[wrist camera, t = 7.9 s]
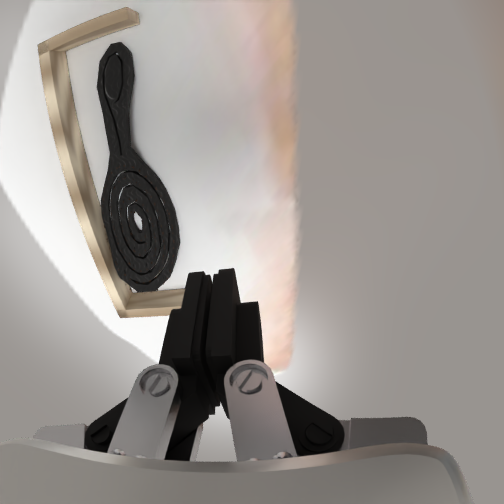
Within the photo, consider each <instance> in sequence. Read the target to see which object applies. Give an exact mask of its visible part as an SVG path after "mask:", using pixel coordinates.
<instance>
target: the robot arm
mask: <svg viewBox="0 0 504 504" xmlns="http://www.w3.org/2000/svg"><path fill="white" fill-rule="evenodd" d="M220 402H221V404H222V406H223V409H224V411H225V413H226V416H227V418H228V419H230V423H231V429H232V434H233V441H234V446H235V452H236V457H237V462H195V461H196V456H197V452H198V448H199V444H200V439H201V435H202V431H203V422H205V421H206V420H207V419H208V418H209V415H214V414H215V407H216V406H220ZM0 504H474V503H473V499H472V496H471V493H470V490H469V487H468V484H467V481H466V479H465V476H464V474H463V472H462V470H461V468H460V466H459V464H458V463H457V461H456V460H455V459H454V457H453V456H452V455H451V454H450V453H448V452H447V451H445V450H444V449H442V448H439V447H435V446H431V445H428V443H427V431H426V428H425V426H424V424H423V423H422V422H421V421H420V420H418V419H416V418H413V417H393V418H351V420H337V419H336V418H335V417H333V416H332V415H330V414H328V413H326V412H325V411H323V410H321V409H320V408H318V407H316V406H315V405H313V404H311V403H309V402H308V401H306V400H305V399H303V398H301V397H300V396H298V395H296V394H295V393H293V392H292V391H290V390H288V389H287V388H285V387H284V386H282V385H281V384H279V383H277V382H276V381H275V379H274V375H273V373H272V371H271V369H270V367H268V366H267V365H266V364H265V363H264V355H263V341H262V329H261V320H260V312H259V305H258V301H257V302H247V303H241V302H240V297H239V291H238V286H237V280H236V275H235V270H234V268H231V269H221V270H219V273H218V274H214V276H213V284H212V280H211V276H210V275H205V273H204V271H202V272H192V273H189V274H188V278H187V282H186V287H185V292H184V296H183V301H182V305H181V308H179V309H172V310H171V313H170V316H169V320H168V325H167V329H166V333H165V338H164V342H163V346H162V351H161V356H160V360H159V364H156V365H153V366H149V367H148V368H146V369H144V370H143V371H142V372H141V373H140V374H139V375H138V377H137V379H136V381H135V383H134V386H133V388H132V390H131V393H130V395H129V397H128V398H127V399H125V400H124V401H122V402H121V403H119V404H118V405H117V406H115V407H114V408H112V409H111V410H110V411H108V412H107V413H105V414H104V415H102V416H101V417H100V418H98V419H97V420H95V421H94V422H93V423H91V424H90V426H86V425H85V424H75V425H61V426H45V427H41V428H40V429H39V430H37V432H36V433H35V435H34V438H33V439H30V438H17V439H11V440H6V441H3V442H1V443H0Z"/></svg>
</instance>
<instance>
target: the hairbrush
mask: <svg viewBox="0 0 504 504" xmlns="http://www.w3.org/2000/svg"><path fill="white" fill-rule="evenodd" d="M116 53H118V54H119V55H116ZM130 53H131V52H130ZM130 53H129V49H128V48H127V47H126V46H125V45H123V44H122V43H121V42H119V43H113V44H111V45H110V46H109V48H108V49H107V51H106V52H105V54H104V55H103V57H102V59H101V60H100V64H99V72H98V81H97V90H98V94H99V99H100V103H101V108H102V112H103V117H104V123H105V129H106V135H107V140H108V146H109V151H110V157H109V165H108V172H107V176H106V180H105V184H104V188H103V193H102V197H101V213H102V219H103V223H104V228H105V229H106V233H107V234H106V235H107V237H108V238H107V239H106V240H108V241H109V245H110V247H109V249H111V254H112V255H111V256H112V259H113V264H114V267H115V269H116V271H117V274H118V276H119V278H120V279H122V280H123V281H124V282H126V283H127V284H128V285H129V286H131V287H132V288H133V289H135V290H136V291H137V293H138V292H142V294H143V292H144V294H145V292H147V291H151V293H152V291H154V292H155V291H156V290H157V291H158V288H159V287H160V286H161V285H162V284H164V283H165V281H167V280H168V279H169V278H170V276H171V273H172V272H173V268H174V265H175V262H176V258H177V253H178V249H179V245H180V238H179V227H178V222H177V217H176V212H175V208H174V206H173V204H172V201H171V199H170V197H169V194H168V192H167V190H166V188H165V187H164V185H163V183H162V182H160V181H161V180H160V178H159V177H158V176H157V175H156V174H155V173H154V172H153V171H152V170H151V169H150V168H149V167H148V166H147V165H146V164H145V163H144V162H143V160H142V159H141V158H140V157H139V156H138V155H137V153H136V152H135V151H134V150H133V149H132V147H131V141H130V124H129V106H130V99H131V93H132V87H133V81H134V70H133V61H132V57H131V56H132V53H131V55H130ZM124 170H128V171H125V172H123V173H121V172H122V171H124ZM119 173H121V174H120V176H119V177H117V175H118V174H119ZM154 174H155V175H156V176H157V177H158V178H159V180H160V181H159V180H158V178H157V177H156V176H155V175H154ZM116 177H117V180H116V181H115V179H116ZM114 181H115V183H114ZM150 182H151V183H150ZM113 183H114V184H113ZM129 183H130V184H132V185H128V184H129ZM112 185H113V186H112ZM126 185H128V186H126ZM124 186H126V187H125V188H123V187H124ZM122 188H123V190H122ZM111 189H112V191H111ZM121 190H122V193H121V196H120V199H119V194H120V192H121ZM144 191H145V192H146V193H145V192H144ZM110 194H111V200H110ZM160 198H161V199H162V201H163V203H164V205H163V203H162V201H161V199H160ZM118 200H119V203H118ZM110 201H111V202H110ZM134 201H135V202H136V203H135V202H134ZM133 202H134V203H133ZM131 203H132V204H131ZM137 203H138V204H137ZM129 204H131V205H130V206H128V205H129ZM118 205H119V210H118ZM164 206H165V207H164ZM127 207H128V218H127ZM143 208H144V209H143ZM144 210H145V211H144ZM165 210H166V211H165ZM110 211H111V216H110ZM135 211H136V212H137V214H138V215H139V216H140V217H141V219H142V230H140V229H139V228H138V227H137V225H136V223H135V221H134V213H135ZM155 211H156V212H155ZM119 212H120V216H119ZM156 213H157V216H158V220H157V216H156ZM166 214H167V215H166ZM148 218H149V219H148ZM120 219H121V221H120ZM128 219H129V221H128ZM149 220H150V222H149ZM168 222H169V223H168ZM158 223H159V224H158ZM169 226H170V229H169ZM139 230H140V231H139ZM159 230H160V231H159ZM132 233H133V234H132ZM152 238H153V239H152ZM108 241H107V242H108ZM161 243H162V247H161ZM151 245H152V247H151ZM150 248H151V251H150V252H149V254H147V252H148V251H149V250H150ZM160 250H161V253H160ZM168 252H169V258H168V261H167V264H166V266H165V267H164V269H163V270H162V268H163V266H164V264H165V261H166V258H167V255H168ZM159 253H160V258H159V260H158V262H157V264H156V265H155V266H154V264H155V263H156V261H157V259H158V256H159ZM146 254H147V255H146ZM153 266H154V267H153ZM152 267H153V268H152ZM151 268H152V269H151ZM150 269H151V270H150ZM161 270H162V271H161ZM160 271H161V273H160V274H159V272H160ZM157 274H159V275H158V276H157V277H155V276H156V275H157ZM154 277H155V278H154ZM125 285H126V284H125ZM130 290H131V289H130Z"/></svg>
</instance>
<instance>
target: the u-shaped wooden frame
mask: <svg viewBox="0 0 504 504" xmlns="http://www.w3.org/2000/svg"><path fill="white" fill-rule="evenodd" d="M139 24H140V23H139V15H138V13H137V12H135V11H134V10H132V9H130V8H128V7H125V8H122V9H119V10H116V11H113V12H110V13H107V14H105V15H102V16H99V17H97V18H94V19H92V20H89V21H87V22H85V23H82V24H80V25H77V26H75V27H73V28H71V29H69V30H66V31H64V32H62V33H60V34H58V35H56V36H54V37H52V38H50V39H48V40H46V41H44V42H42V43H40V44H38V53H39V61H40V68H41V75H42V82H43V88H44V93H45V99H46V104H47V109H48V114H49V119H50V123H51V128H52V132H53V136H54V140H55V144H56V148H57V152H58V156H59V160H60V163H61V167H62V170H63V174H64V177H65V180H66V184H67V187H68V190H69V193H70V196H71V199H72V202H73V205H74V208H75V211H76V214H77V217H78V220H79V223H80V225H81V228H82V231H83V234H84V236H85V239H86V242H87V244H88V247H89V249H90V252H91V254H92V257H93V259H94V262H95V264H96V266H97V269H98V271H99V273H100V276H101V278H102V280H103V283H104V285H105V287H106V289H107V292H108V294H109V296H110V298H111V300H112V302H113V304H114V307H115V309H116V311H117V313H118V315H119V317H120V318H131V317H151V316H167V315H170V313H171V310H172V309H179V308H181V305H182V301H183V296H184V292H185V289H175V290H164V291H155V292H154V291H152V293H151V292H145V294H144V292H143V294H142V292H139V293H132V291H131V290H130V286H129V285H128V284H127V283H126V282H124V281H123V280H122V279H120V278H119V276H118V274H117V271H116V269H115V267H114V264H113V259H112V256H111V255H112V254H111V249H109V247H110V245H109V241H108V240H106V239H107V238H108V237H107V235H106V234H107V233H106V229H105V228H104V223H103V219H102V213H101V206H100V203H99V200H98V196H97V193H96V190H95V186H94V183H93V180H92V176H91V172H90V169H89V165H88V161H87V158H86V154H85V150H84V146H83V142H82V138H81V133H80V129H79V125H78V120H77V115H76V110H75V106H74V100H73V95H72V90H71V84H70V78H69V72H68V65H67V58H66V51H68V50H70V49H72V48H75V47H77V46H79V45H82V44H84V43H87V42H89V41H92V40H94V39H97V38H100V37H102V36H105V35H108V34H111V33H114V32H116V31H119V30H123V29H126V28H129V27H132V26H135V25H139ZM107 241H108V242H107ZM125 284H126V285H125Z"/></svg>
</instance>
